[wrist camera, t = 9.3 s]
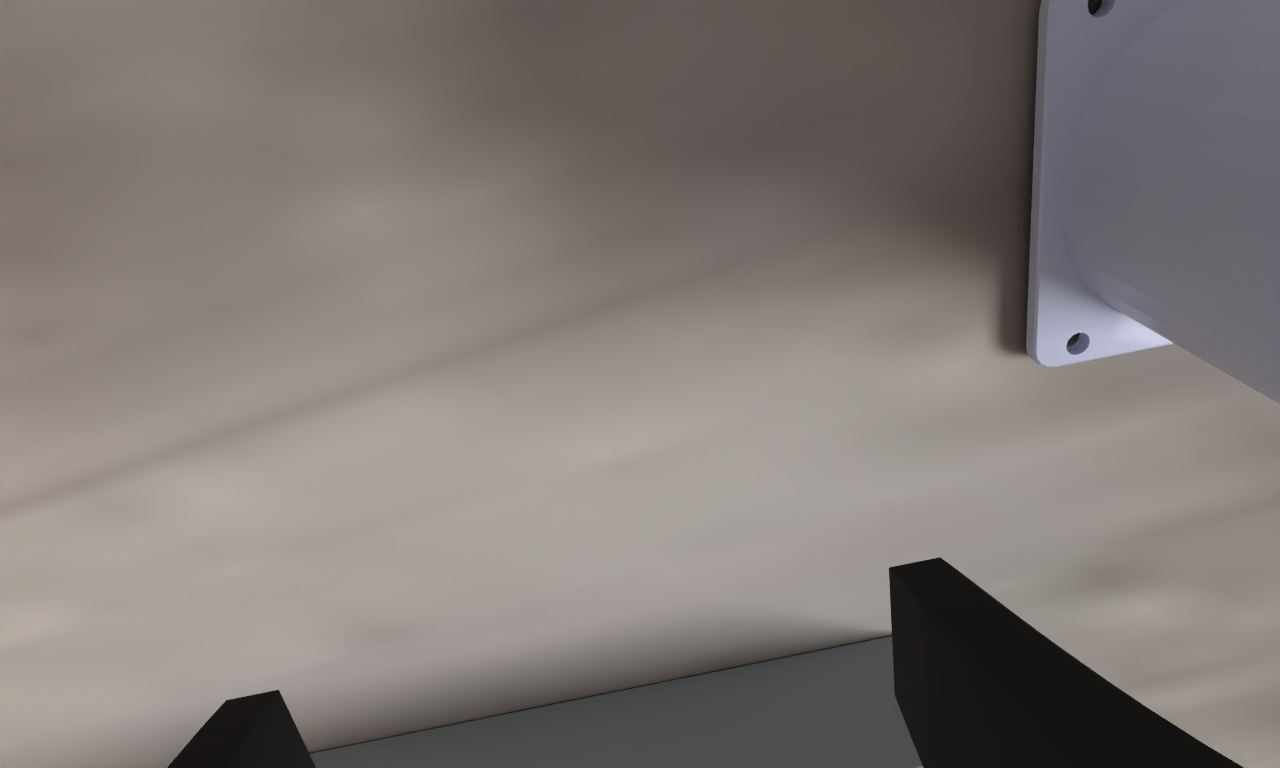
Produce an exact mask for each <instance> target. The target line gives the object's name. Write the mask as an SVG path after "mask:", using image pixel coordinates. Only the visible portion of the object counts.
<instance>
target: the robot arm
mask: <svg viewBox="0 0 1280 768" xmlns="http://www.w3.org/2000/svg"><path fill="white" fill-rule="evenodd" d="M1088 1H1089V0H1042V1H1041V5H1040V10H1039V30H1038V55H1037V81H1036V106H1035V132H1034V157H1033V183H1032V208H1031V234H1030V260H1029V285H1028V311H1027V336H1026V348H1027V354H1028V355H1029V356H1030V358H1031V359H1032V360H1034V361H1035V362H1036V363H1037V364H1039V365H1041V366H1043V367H1058V366H1063V365H1069V364H1074V363H1079V362H1084V361H1089V360H1094V359H1099V358H1104V357H1109V356H1114V355H1120V354H1125V353H1130V352H1135V351H1140V350H1145V349H1150V348H1155V347H1160V346H1165V345H1171V344H1176V345H1178V346H1180V347H1181V348H1183V349H1185V350H1187V351H1188V352H1190V353H1192V354H1194V355H1195V356H1197V357H1199V358H1201V359H1202V360H1204V361H1206V362H1208V363H1209V364H1211V365H1213V366H1215V367H1216V368H1218V369H1220V370H1222V371H1223V372H1225V373H1227V374H1229V375H1230V376H1232V377H1234V378H1235V379H1237V380H1239V381H1241V382H1242V383H1244V384H1246V385H1248V386H1249V387H1251V388H1253V389H1255V390H1256V391H1258V392H1260V393H1262V394H1263V395H1265V396H1267V397H1269V398H1270V399H1272V400H1274V401H1276V402H1277V403H1279V404H1280V0H1102V4H1101V7H1100V8H1099V9H1098V11H1097V12H1096V13H1095V14H1093V15H1091V14H1090V13H1089V11H1088V5H1087V4H1088ZM1077 333H1079V334H1080V335H1079V338H1078V341H1077V342H1076V343H1075V344H1074V345H1073V346H1070V347H1068V348H1067V347H1066V345H1067V342H1068V340H1069V339H1070V338H1071V337H1072V336H1073V335H1075V334H1077ZM889 577H890V600H891V622H892V645H893V668H894V690H895V697H896V700H897V703H898V705H899V708H900V710H901V713H902V715H903V718H904V720H905V723H906V726H907V728H908V731H909V733H910V736H911V738H912V741H913V743H914V746H915V748H916V751H917V753H918V756H919V758H920V760H921V763H922V765H923V768H1244V767H1242V766H1240V765H1238V764H1237V763H1235V762H1233V761H1232V760H1230V759H1228V758H1227V757H1225V756H1223V755H1222V754H1220V753H1218V752H1217V751H1215V750H1213V749H1212V748H1210V747H1208V746H1207V745H1205V744H1203V743H1202V742H1200V741H1199V740H1197V739H1195V738H1194V737H1192V736H1191V735H1189V734H1188V733H1186V732H1184V731H1183V730H1181V729H1180V728H1178V727H1177V726H1175V725H1173V724H1172V723H1170V722H1169V721H1167V720H1166V719H1164V718H1163V717H1161V716H1159V715H1158V714H1156V713H1155V712H1153V711H1152V710H1150V709H1148V708H1147V707H1145V706H1144V705H1142V704H1141V703H1140V702H1138V701H1137V700H1135V699H1134V698H1132V697H1131V696H1129V695H1128V694H1126V693H1125V692H1123V691H1122V690H1120V689H1119V688H1117V687H1116V686H1114V685H1113V684H1111V683H1110V682H1109V681H1107V680H1106V679H1104V678H1103V677H1101V676H1100V675H1099V674H1097V673H1096V672H1094V671H1093V670H1091V669H1090V668H1089V667H1087V666H1086V665H1084V664H1083V663H1081V662H1080V661H1079V660H1077V659H1076V658H1074V657H1073V656H1072V655H1070V654H1069V653H1067V652H1066V651H1064V650H1063V649H1062V648H1060V647H1059V646H1057V645H1056V644H1055V643H1053V642H1052V641H1051V640H1049V639H1048V638H1047V637H1045V636H1044V635H1042V634H1041V633H1040V632H1038V631H1037V630H1036V629H1034V628H1033V627H1032V626H1030V625H1029V624H1028V623H1026V622H1025V621H1024V620H1022V619H1021V618H1020V617H1018V616H1017V615H1016V614H1014V613H1013V612H1012V611H1010V610H1009V609H1008V608H1006V607H1005V606H1004V605H1002V604H1001V603H1000V602H998V601H997V600H996V599H994V598H993V597H992V596H991V595H989V594H988V593H987V592H985V591H984V590H983V589H981V588H980V587H979V586H978V585H976V584H975V583H974V582H972V581H971V580H970V579H968V578H967V577H966V576H964V575H963V574H962V573H961V572H959V571H958V570H957V569H955V568H954V567H953V566H951V565H950V564H949V563H947V562H946V561H944V560H943V559H941V558H935V559H930V560H925V561H920V562H915V563H910V564H905V565H900V566H895V567H890V568H889ZM168 768H316V767H315V765H314V763H313V761H312V759H311V756H310V754H309V752H308V750H307V748H306V746H305V744H304V742H303V740H302V738H301V736H300V733H299V731H298V729H297V727H296V725H295V723H294V721H293V719H292V717H291V715H290V713H289V710H288V708H287V706H286V704H285V702H284V700H283V698H282V696H281V694H280V692H279V690H276V691H271V692H266V693H261V694H256V695H251V696H246V697H241V698H236V699H231V700H226V701H225V703H224V704H223V705H222V706H221V707H220V708H219V709H218V710H217V711H216V712H215V713H214V714H213V716H212V717H211V718H210V719H209V720H208V721H207V722H206V723H205V725H204V726H203V727H202V728H201V729H200V730H199V731H198V733H197V734H196V735H195V736H194V737H193V738H192V739H191V741H190V742H189V743H188V744H187V745H186V746H185V748H184V749H183V750H182V751H181V752H180V753H179V755H178V756H177V757H176V758H175V759H174V760H173V762H172V763H171V764H170V765H169V766H168Z"/></svg>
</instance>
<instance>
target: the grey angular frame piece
mask: <svg viewBox="0 0 1280 768" xmlns="http://www.w3.org/2000/svg"><path fill="white" fill-rule="evenodd" d="M310 756H311V759H312V761H313V763H314V765H315V767H316V768H923V765H922V763H921V760H920V758H919V756H918V753H917V751H916V748H915V746H914V743H913V741H912V738H911V736H910V733H909V731H908V728H907V726H906V723H905V720H904V718H903V715H902V713H901V710H900V708H899V705H898V703H897V700H896V697H895V690H894V668H893V645H892V636H890V637H885V638H880V639H875V640H870V641H865V642H860V643H855V644H850V645H845V646H840V647H836V648H831V649H826V650H821V651H816V652H811V653H806V654H801V655H796V656H791V657H786V658H781V659H776V660H771V661H766V662H761V663H756V664H751V665H746V666H741V667H737V668H732V669H727V670H722V671H717V672H712V673H707V674H702V675H697V676H692V677H687V678H682V679H677V680H672V681H667V682H662V683H657V684H652V685H647V686H642V687H638V688H633V689H628V690H623V691H618V692H613V693H608V694H603V695H598V696H593V697H588V698H583V699H578V700H573V701H568V702H563V703H558V704H553V705H548V706H543V707H538V708H534V709H529V710H524V711H519V712H514V713H509V714H504V715H499V716H494V717H489V718H484V719H479V720H474V721H469V722H464V723H459V724H454V725H449V726H444V727H439V728H435V729H430V730H425V731H420V732H415V733H410V734H405V735H400V736H395V737H390V738H385V739H380V740H375V741H370V742H365V743H360V744H355V745H350V746H345V747H340V748H336V749H331V750H326V751H321V752H316V753H311V754H310Z"/></svg>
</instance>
